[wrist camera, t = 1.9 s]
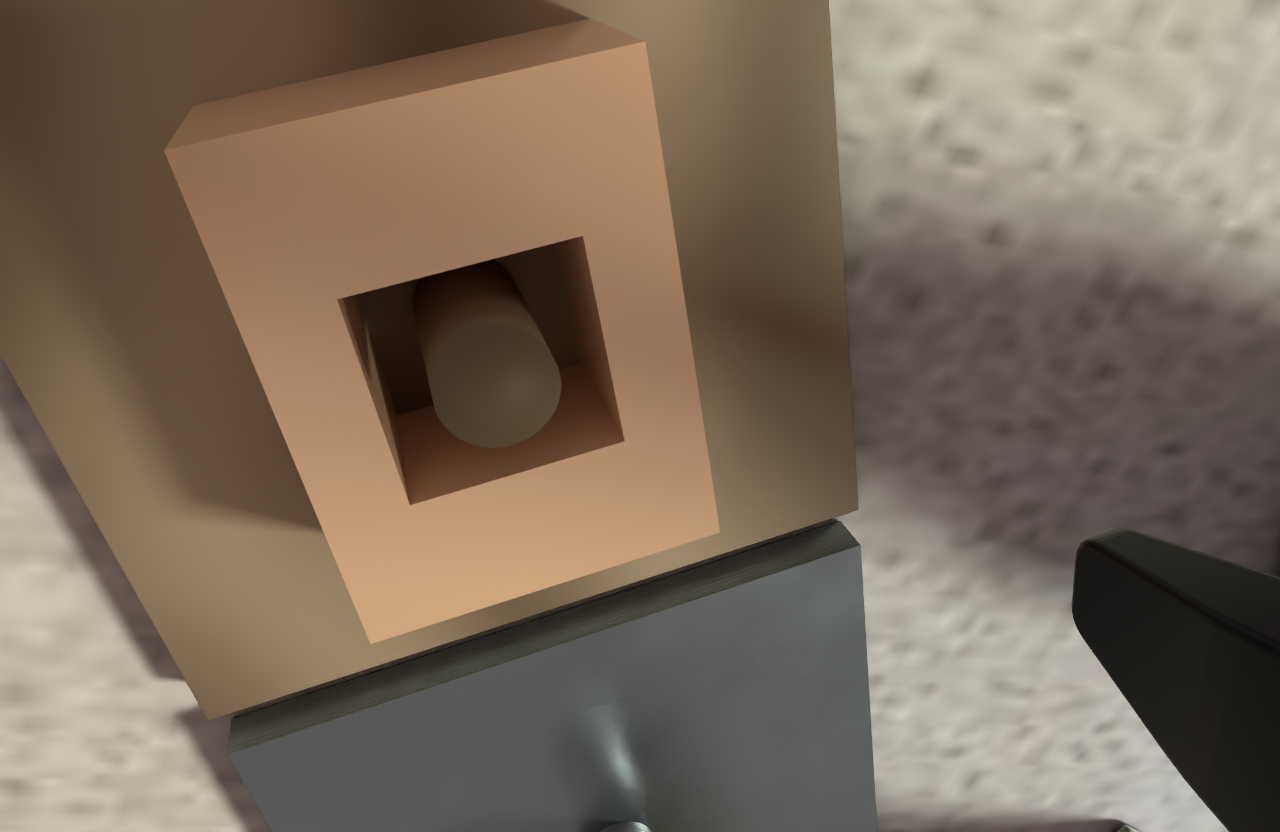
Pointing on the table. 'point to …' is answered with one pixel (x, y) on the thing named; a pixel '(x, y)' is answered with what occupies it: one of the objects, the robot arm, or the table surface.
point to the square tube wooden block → (445, 240)
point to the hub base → (603, 716)
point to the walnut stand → (393, 303)
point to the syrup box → (1127, 829)
